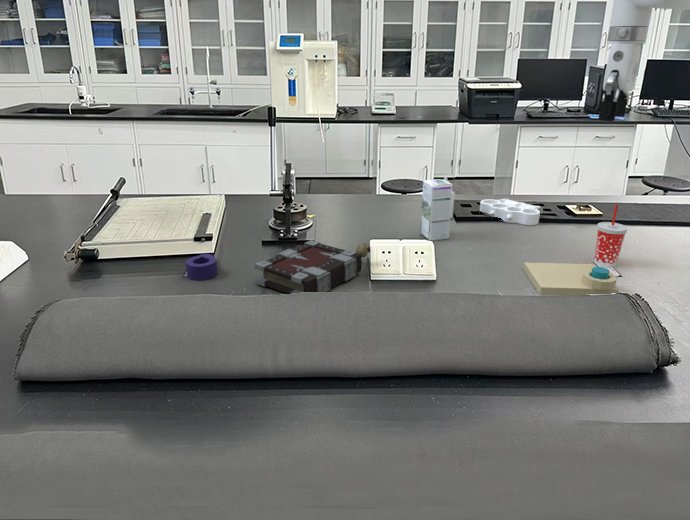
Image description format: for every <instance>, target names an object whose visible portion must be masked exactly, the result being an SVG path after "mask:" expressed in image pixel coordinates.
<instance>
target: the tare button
mask: <svg viewBox="0 0 690 520" xmlns="http://www.w3.org/2000/svg"><path fill="white" fill-rule="evenodd" d="M609 273H611V271H610V270H609V269H608V268H607V267H603V266H596V267H593V268H592V272H591V276H592V277H594V278H597V279H608V277H609Z"/></svg>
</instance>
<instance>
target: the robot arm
mask: <svg viewBox="0 0 690 520" xmlns="http://www.w3.org/2000/svg"><path fill="white" fill-rule="evenodd" d="M653 9H660V10H661V9H662V10H680V11H688V10H690V0H613V7H612V11H611V15H610V16H611V17H610V22H609V28H608V34H607V39H606V40H607V41H606V45H607V44H608V45H609V44H610V48H609V53H608V57H607V61H606V67H605V70H604V71H605V72H604V77H603V83H602V90H603V95H602V99H601V102H600V108H599V114H598V121H602V122H603V121H604V122H614V121H615V119H616V117H618V118H623V117H625V115H626V109H627V105H628V98H629V93H630V92H632V91H634V89H635V88H636V83H637V78H638V70H639V64H640V57H641V49H642V48H641V47H642V45H645V44H646V42H647V38H648V34H649V28H650V23H651V18H652V12H653Z"/></svg>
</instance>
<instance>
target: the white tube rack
mask: <svg viewBox="0 0 690 520" xmlns="http://www.w3.org/2000/svg"><path fill="white" fill-rule="evenodd" d="M479 210H480V211H481V212H486V213H488V214H490V215H491V216H494V217H498V218H501V219H502V220H503V221H502V220H501V221H502V222H504V223H509V224H519V225H523V226H529V227H531V226H537V225H539V222H540V216H541V215H540V212H542V213H543V211H544V208H543V207H541V206H540V205H534V204H530V203H525V202H523V201H517V200H516V201H515V200H512V199H509V198H501V199H492V198H491V199H488V198H487V199H482V200H480V202H479Z"/></svg>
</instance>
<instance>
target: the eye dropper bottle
mask: <svg viewBox="0 0 690 520" xmlns="http://www.w3.org/2000/svg"><path fill="white" fill-rule="evenodd" d="M443 180H445V181H447V182H449V183H451V182H450V181H449V180H448V177H447V176H444V177H443ZM455 195H456V194H455V192H454V191H453V190H452V198H451V213H450V220H452V219H453V218H454V209H455V207H454V206H455V198H456V197H455Z"/></svg>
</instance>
